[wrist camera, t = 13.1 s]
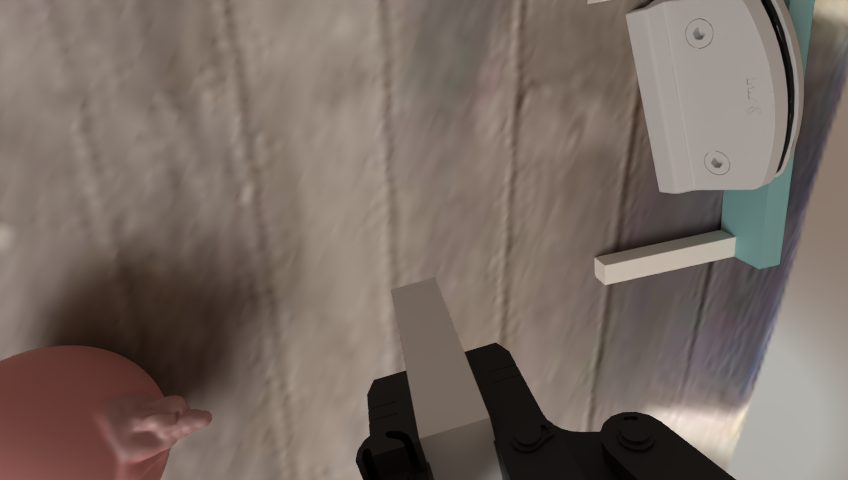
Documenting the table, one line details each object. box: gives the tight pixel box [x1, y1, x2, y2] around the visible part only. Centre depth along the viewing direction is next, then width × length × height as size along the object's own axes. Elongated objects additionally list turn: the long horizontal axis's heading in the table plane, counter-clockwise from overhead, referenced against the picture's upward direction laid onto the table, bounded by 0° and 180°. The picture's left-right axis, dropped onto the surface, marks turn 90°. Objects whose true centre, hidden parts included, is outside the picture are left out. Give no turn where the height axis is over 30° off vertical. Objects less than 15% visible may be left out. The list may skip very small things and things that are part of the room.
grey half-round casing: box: [626, 0, 804, 194], centre depth 38 cm, size 17×5×10 cm, turn 21°
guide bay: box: [588, 0, 815, 285], centre depth 40 cm, size 26×15×5 cm, turn 9°
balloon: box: [0, 345, 212, 480], centre depth 36 cm, size 15×20×15 cm
